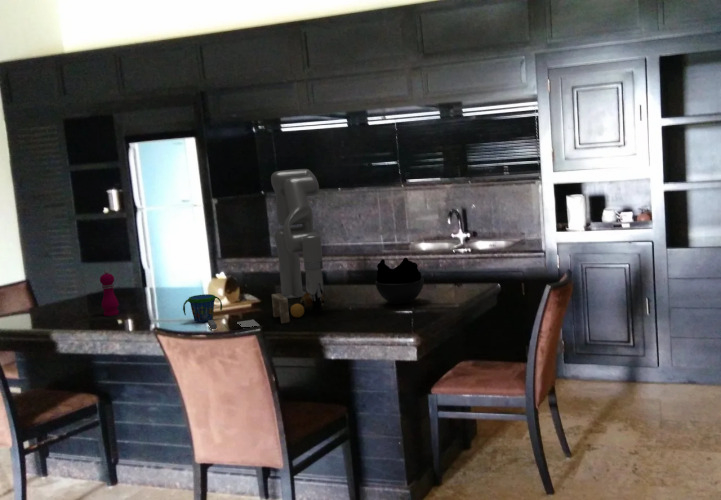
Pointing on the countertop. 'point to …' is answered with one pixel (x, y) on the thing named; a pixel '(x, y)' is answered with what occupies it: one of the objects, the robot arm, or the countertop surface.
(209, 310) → the snack cup
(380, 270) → the bowl of black rocks
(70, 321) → the countertop surface
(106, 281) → the pepper mill
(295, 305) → the ball
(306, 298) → the bread roll
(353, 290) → the countertop surface
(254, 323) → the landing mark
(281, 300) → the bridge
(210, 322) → the stopper
